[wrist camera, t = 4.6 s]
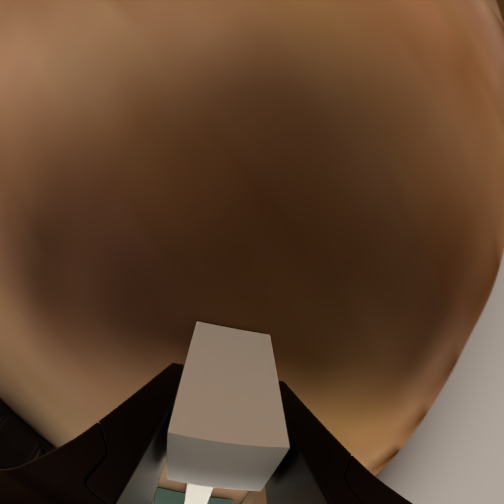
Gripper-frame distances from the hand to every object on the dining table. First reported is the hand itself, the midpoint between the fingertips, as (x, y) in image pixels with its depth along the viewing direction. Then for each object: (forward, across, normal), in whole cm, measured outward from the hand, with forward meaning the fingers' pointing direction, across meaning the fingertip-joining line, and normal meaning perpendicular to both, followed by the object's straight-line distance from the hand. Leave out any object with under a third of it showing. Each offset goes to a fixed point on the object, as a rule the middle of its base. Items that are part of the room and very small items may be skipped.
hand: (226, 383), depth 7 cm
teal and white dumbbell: (+2, 0, +9) cm, 9 cm away
